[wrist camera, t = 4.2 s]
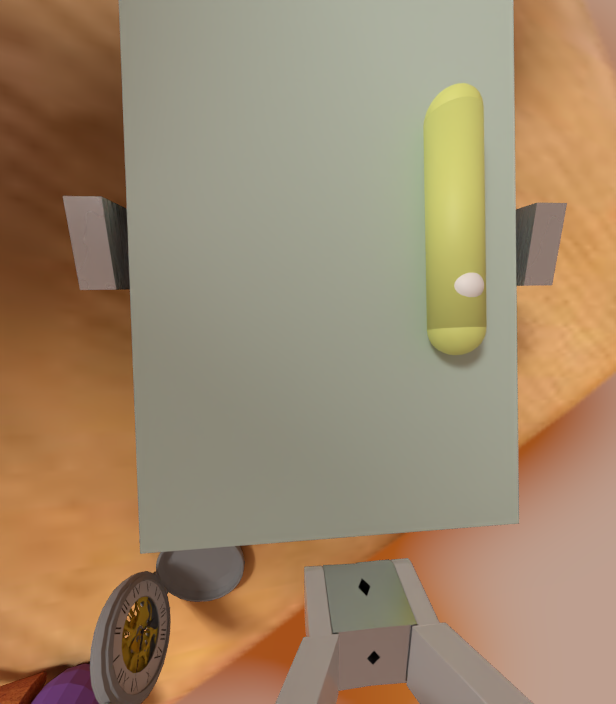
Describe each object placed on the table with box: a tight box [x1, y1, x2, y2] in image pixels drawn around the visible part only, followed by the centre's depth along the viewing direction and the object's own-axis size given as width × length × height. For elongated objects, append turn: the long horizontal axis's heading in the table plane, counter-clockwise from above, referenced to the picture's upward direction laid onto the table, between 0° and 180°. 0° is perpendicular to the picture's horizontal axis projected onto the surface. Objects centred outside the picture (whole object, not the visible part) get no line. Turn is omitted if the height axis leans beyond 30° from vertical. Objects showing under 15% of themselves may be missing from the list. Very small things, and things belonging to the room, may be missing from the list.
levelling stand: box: [63, 196, 567, 290], centre depth 14 cm, size 24×18×8 cm
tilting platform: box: [119, 0, 519, 554], centre depth 10 cm, size 22×14×4 cm, turn 0°
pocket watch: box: [90, 546, 245, 704], centre depth 18 cm, size 8×8×10 cm
